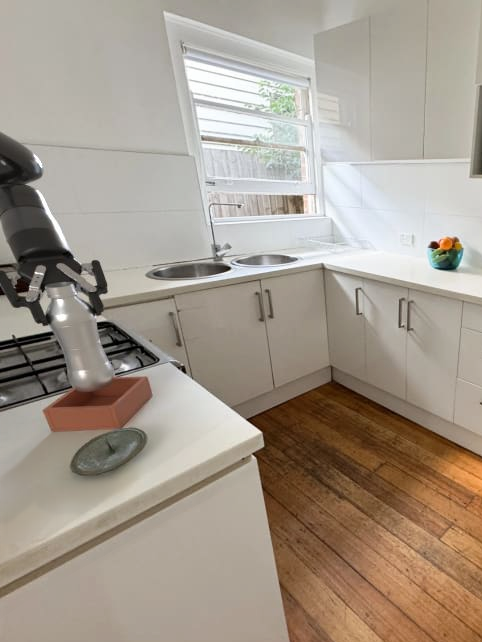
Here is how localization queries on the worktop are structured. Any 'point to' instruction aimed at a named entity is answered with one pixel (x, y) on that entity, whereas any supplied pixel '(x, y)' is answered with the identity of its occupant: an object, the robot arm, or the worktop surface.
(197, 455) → the worktop surface
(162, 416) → the worktop surface
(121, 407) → the caddy
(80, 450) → the lid
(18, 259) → the robot arm
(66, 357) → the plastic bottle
